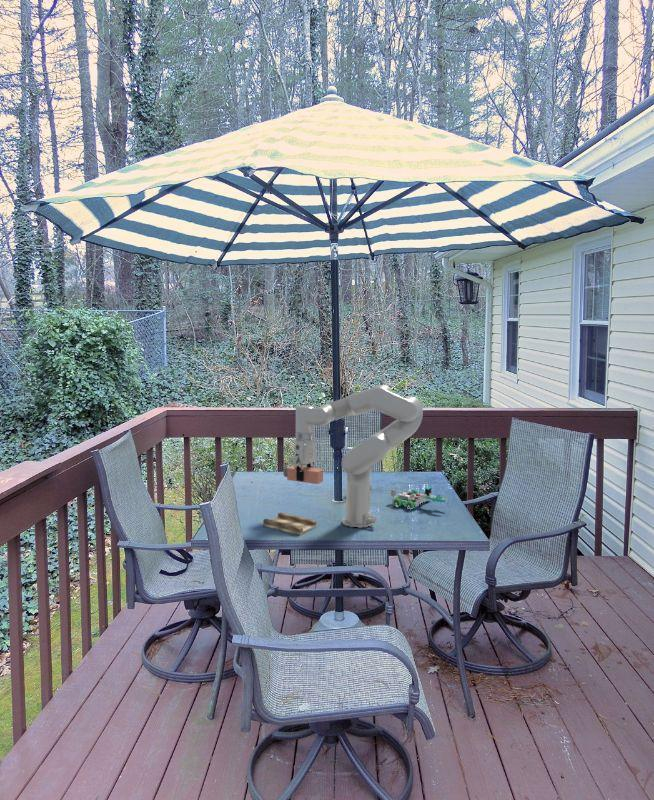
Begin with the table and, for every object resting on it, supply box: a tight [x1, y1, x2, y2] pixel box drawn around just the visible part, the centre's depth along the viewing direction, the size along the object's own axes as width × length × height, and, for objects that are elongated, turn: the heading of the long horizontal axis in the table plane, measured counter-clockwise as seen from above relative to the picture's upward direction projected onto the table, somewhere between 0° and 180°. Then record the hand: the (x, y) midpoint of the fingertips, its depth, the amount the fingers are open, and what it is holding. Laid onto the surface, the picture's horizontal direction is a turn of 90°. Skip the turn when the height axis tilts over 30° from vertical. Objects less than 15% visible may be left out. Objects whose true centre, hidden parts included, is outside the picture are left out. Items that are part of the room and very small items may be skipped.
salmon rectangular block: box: [283, 465, 324, 485], centre depth 246 cm, size 16×5×5 cm, turn 65°
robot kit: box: [390, 486, 449, 509], centre depth 265 cm, size 19×25×9 cm
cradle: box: [262, 512, 317, 536], centre depth 237 cm, size 18×11×2 cm, turn 57°
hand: (304, 478), depth 246 cm, fingers closed on salmon rectangular block, 5 cm apart
